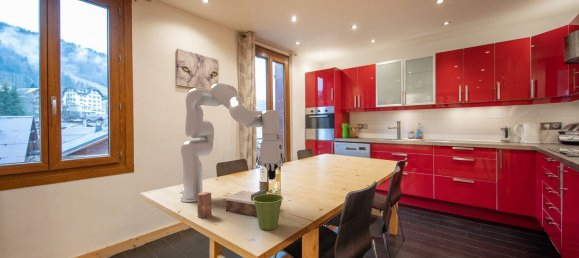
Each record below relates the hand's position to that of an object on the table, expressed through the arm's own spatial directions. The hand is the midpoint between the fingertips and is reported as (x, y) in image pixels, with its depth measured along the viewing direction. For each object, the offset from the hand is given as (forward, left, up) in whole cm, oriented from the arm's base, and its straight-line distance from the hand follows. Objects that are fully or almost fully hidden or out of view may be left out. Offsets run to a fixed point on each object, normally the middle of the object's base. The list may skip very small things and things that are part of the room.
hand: (272, 179), depth 106 cm
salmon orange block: (-26, -14, -16) cm, 33 cm away
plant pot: (+5, -12, -16) cm, 21 cm away
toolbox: (-12, 0, -16) cm, 20 cm away
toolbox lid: (-12, 0, -10) cm, 16 cm away
